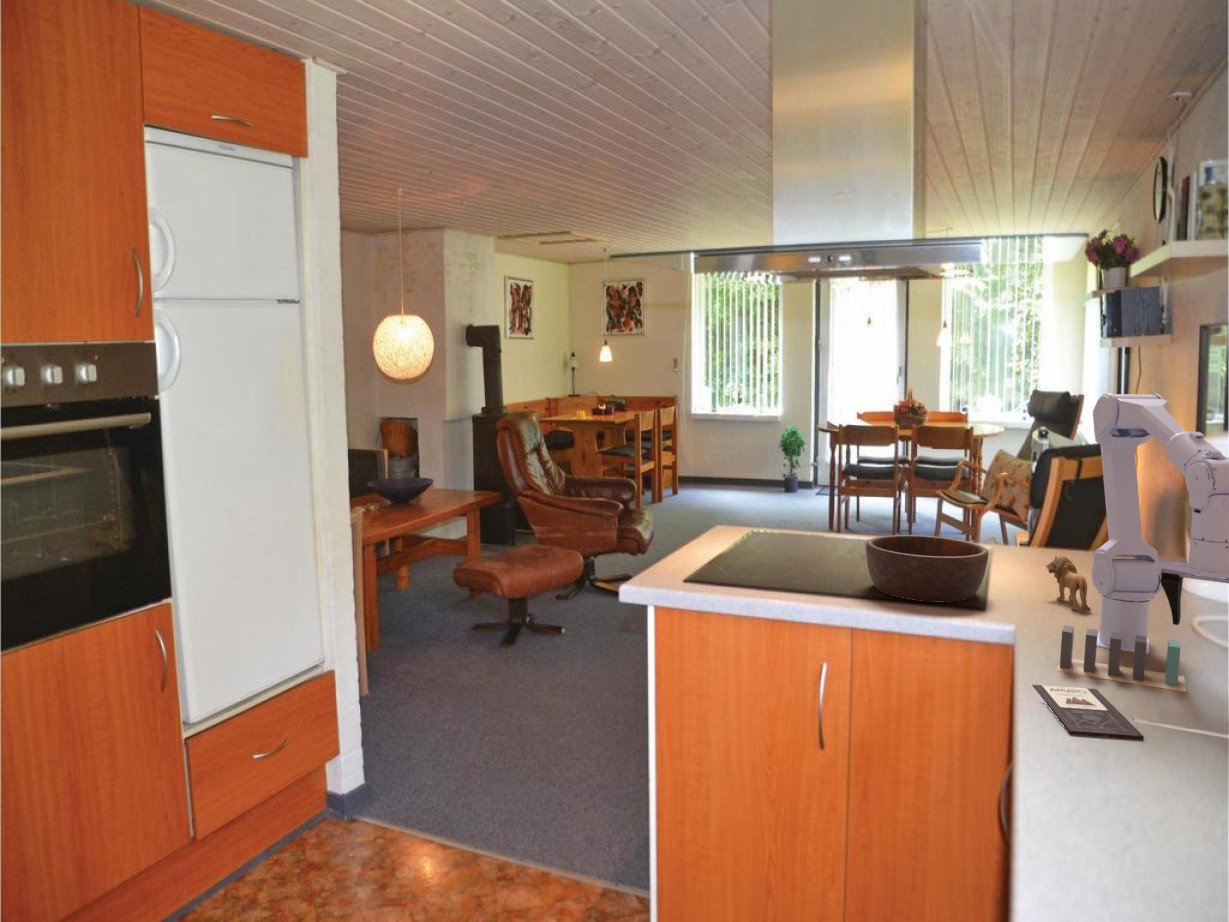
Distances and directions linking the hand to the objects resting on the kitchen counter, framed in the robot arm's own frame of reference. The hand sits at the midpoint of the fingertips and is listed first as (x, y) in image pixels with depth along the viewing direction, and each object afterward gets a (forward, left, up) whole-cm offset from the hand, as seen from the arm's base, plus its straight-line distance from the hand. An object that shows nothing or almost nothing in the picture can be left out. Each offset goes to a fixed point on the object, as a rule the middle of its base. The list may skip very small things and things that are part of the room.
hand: (1205, 628), depth 138 cm
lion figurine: (-46, -21, -10) cm, 52 cm away
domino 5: (0, -4, -9) cm, 10 cm away
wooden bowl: (-40, -49, -10) cm, 64 cm away
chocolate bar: (+20, -15, -10) cm, 27 cm away
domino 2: (0, -15, -9) cm, 18 cm away
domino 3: (0, -12, -9) cm, 15 cm away
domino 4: (0, -8, -9) cm, 12 cm away
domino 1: (0, -19, -9) cm, 21 cm away
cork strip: (0, -11, -9) cm, 14 cm away
